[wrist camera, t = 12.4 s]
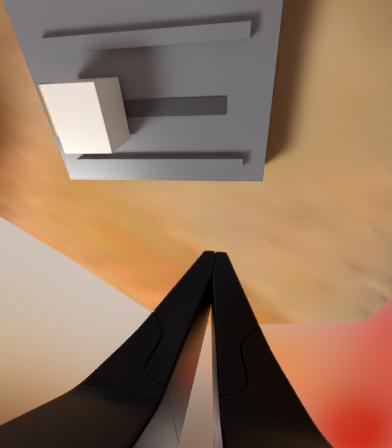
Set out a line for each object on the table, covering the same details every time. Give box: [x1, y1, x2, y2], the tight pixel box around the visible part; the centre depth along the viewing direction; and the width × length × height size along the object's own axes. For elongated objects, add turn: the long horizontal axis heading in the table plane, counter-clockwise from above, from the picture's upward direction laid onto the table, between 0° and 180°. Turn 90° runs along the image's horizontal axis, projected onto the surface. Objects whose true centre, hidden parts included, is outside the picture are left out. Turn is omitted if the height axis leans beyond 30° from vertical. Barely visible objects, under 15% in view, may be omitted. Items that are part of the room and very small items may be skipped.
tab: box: [40, 77, 131, 154], centre depth 14 cm, size 3×4×3 cm
